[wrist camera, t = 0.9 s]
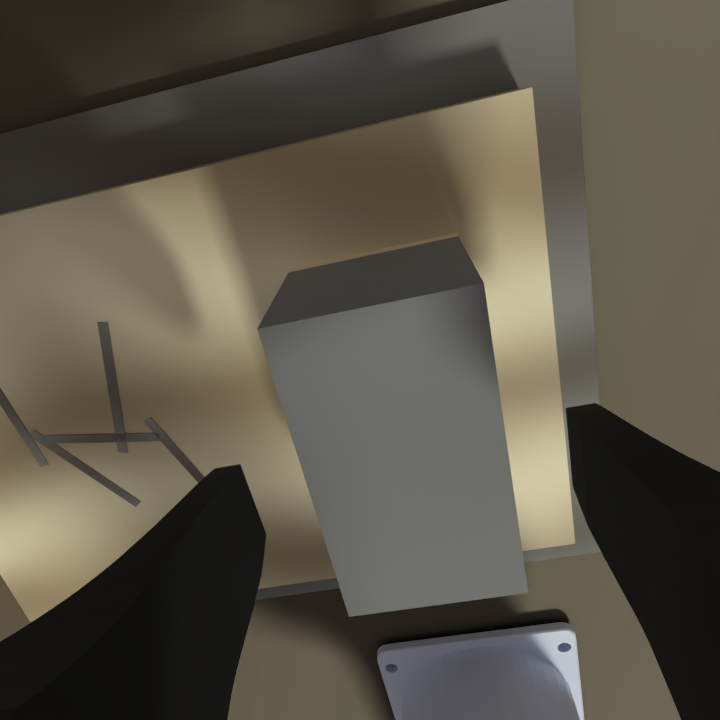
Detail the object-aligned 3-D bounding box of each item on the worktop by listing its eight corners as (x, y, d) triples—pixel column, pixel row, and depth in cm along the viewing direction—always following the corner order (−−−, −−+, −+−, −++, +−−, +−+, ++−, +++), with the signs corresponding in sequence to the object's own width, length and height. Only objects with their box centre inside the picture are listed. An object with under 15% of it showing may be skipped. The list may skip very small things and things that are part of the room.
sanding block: (495, 481, 18) (528, 592, 14) (356, 503, 19) (349, 616, 15) (456, 232, 15) (484, 283, 11) (290, 268, 15) (257, 328, 11)
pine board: (605, 542, 21) (625, 582, 20) (44, 622, 24) (17, 663, 22) (567, -14, 14) (593, -30, 12) (-221, 192, 17) (-290, 203, 15)
